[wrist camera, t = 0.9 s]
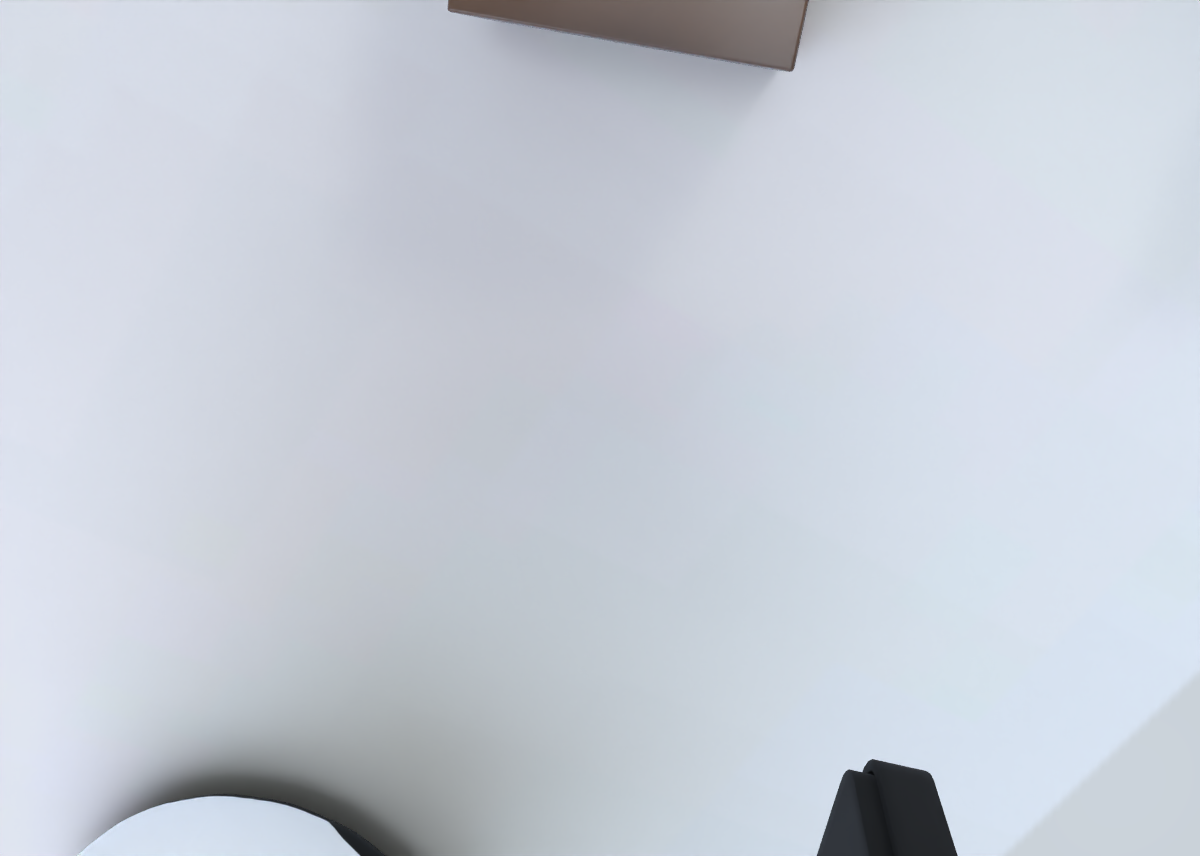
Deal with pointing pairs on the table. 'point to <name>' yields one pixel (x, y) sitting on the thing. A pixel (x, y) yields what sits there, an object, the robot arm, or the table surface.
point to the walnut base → (666, 24)
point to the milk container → (229, 831)
